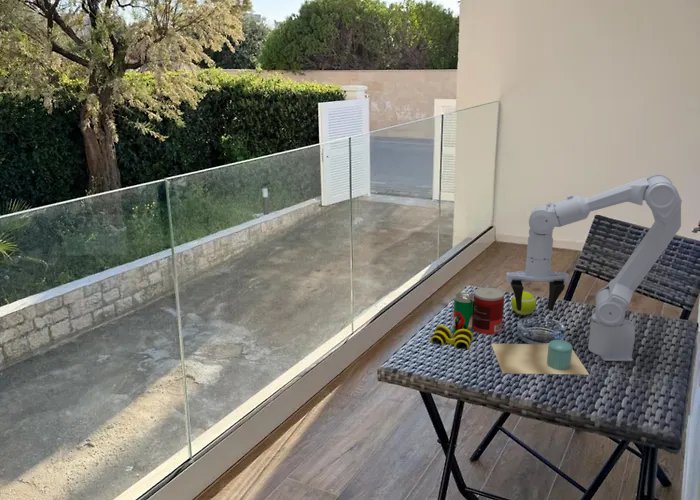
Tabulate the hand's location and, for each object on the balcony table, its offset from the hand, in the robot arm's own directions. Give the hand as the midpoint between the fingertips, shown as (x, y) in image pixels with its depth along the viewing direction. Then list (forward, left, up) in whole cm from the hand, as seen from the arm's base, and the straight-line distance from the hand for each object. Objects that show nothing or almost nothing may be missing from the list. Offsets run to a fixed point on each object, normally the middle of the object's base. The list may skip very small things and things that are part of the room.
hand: (534, 309), depth 150 cm
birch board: (+1, +10, -9) cm, 14 cm away
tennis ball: (-2, -19, -10) cm, 21 cm away
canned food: (+10, -7, -10) cm, 16 cm away
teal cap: (-3, +13, -8) cm, 16 cm away
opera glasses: (+20, +2, -10) cm, 23 cm away
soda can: (+17, -2, -10) cm, 20 cm away
